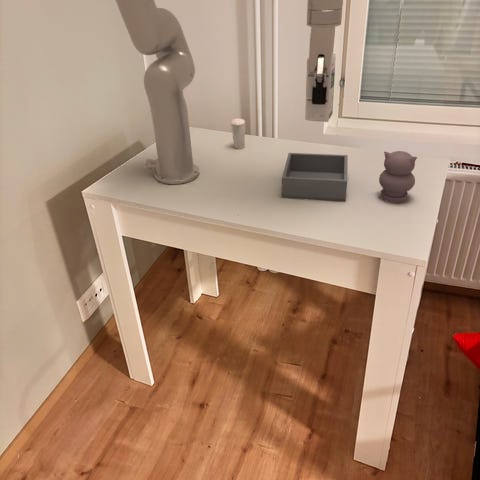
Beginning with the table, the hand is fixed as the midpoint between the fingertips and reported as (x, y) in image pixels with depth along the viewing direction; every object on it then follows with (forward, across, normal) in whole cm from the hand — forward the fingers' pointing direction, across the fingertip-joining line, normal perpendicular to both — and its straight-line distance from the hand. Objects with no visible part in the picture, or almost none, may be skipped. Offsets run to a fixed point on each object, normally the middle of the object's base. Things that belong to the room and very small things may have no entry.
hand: (319, 98), depth 112 cm
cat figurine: (+23, +4, +20) cm, 31 cm away
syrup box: (+5, 0, 0) cm, 5 cm away
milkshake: (+23, -24, -25) cm, 42 cm away
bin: (+23, 0, 0) cm, 23 cm away
